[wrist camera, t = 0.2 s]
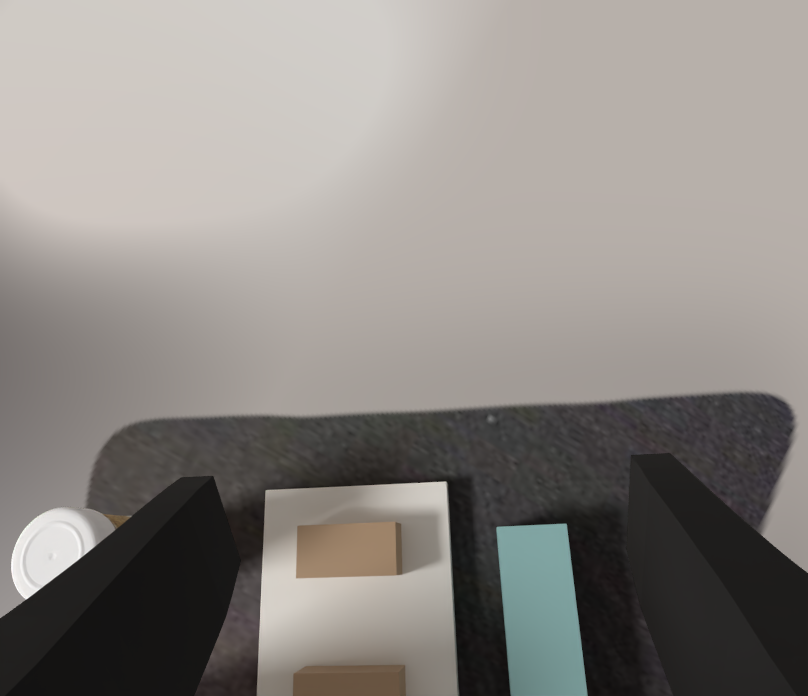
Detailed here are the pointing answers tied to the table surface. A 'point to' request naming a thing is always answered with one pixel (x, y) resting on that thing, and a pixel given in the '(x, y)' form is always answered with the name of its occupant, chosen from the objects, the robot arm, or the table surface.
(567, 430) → the table surface
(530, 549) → the teal bar
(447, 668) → the display stand
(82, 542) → the sprinkles bottle
